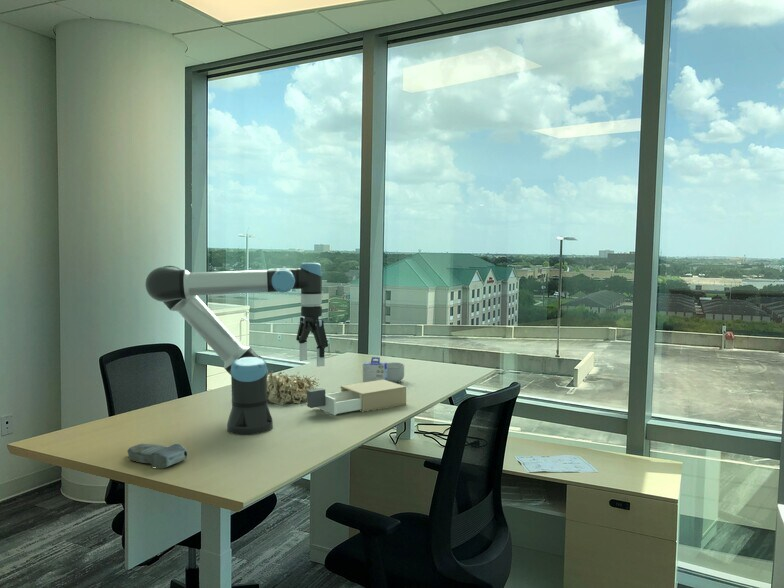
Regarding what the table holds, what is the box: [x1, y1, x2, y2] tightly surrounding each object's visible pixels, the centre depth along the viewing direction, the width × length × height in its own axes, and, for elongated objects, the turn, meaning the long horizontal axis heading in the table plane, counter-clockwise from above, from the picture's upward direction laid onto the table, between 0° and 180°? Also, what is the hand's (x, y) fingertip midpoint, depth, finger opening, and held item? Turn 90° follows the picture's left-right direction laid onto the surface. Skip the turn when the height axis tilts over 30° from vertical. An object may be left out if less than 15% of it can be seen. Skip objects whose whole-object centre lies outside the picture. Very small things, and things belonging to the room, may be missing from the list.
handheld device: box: [127, 443, 188, 469], centre depth 176 cm, size 10×20×5 cm, turn 64°
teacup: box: [386, 362, 405, 384], centre depth 279 cm, size 14×11×8 cm
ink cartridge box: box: [362, 356, 388, 383], centre depth 259 cm, size 10×6×14 cm, turn 78°
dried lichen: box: [267, 370, 320, 406], centre depth 250 cm, size 27×30×11 cm
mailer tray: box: [306, 387, 362, 416], centre depth 229 cm, size 26×16×8 cm, turn 125°
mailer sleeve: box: [340, 380, 407, 412], centre depth 238 cm, size 20×16×7 cm
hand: (311, 363), depth 222 cm, fingers open, 13 cm apart
